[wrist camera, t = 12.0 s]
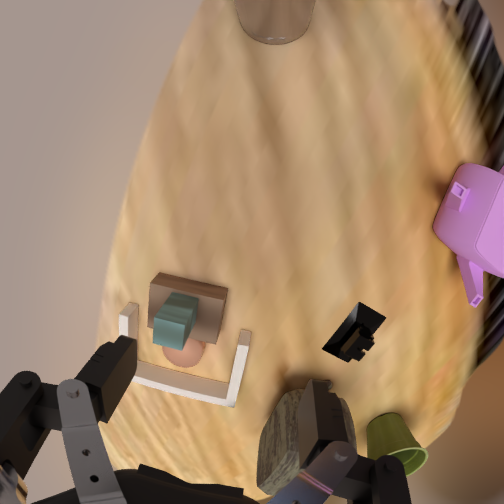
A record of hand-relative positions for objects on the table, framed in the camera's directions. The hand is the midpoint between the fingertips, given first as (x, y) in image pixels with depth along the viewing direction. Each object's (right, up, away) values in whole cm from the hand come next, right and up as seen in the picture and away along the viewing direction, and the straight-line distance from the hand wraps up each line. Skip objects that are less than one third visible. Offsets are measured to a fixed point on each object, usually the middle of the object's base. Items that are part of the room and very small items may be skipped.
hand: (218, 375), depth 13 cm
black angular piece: (+17, -6, +32) cm, 36 cm away
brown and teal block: (-7, -2, +31) cm, 32 cm away
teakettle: (+34, +11, +25) cm, 43 cm away
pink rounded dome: (-9, -8, +33) cm, 35 cm away
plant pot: (+27, -28, +37) cm, 54 cm away
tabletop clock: (+9, -19, +36) cm, 41 cm away
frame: (-9, -10, +34) cm, 36 cm away
